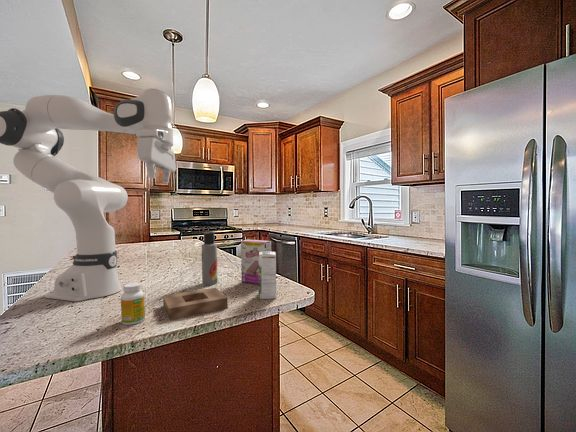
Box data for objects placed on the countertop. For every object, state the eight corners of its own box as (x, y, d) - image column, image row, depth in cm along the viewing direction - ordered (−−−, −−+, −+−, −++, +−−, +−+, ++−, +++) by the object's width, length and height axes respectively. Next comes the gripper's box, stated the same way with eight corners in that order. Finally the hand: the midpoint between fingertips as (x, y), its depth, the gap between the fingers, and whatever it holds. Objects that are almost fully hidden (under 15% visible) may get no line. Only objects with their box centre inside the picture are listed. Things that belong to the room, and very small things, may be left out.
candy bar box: (240, 282, 109) (240, 240, 109) (247, 279, 114) (247, 239, 113) (266, 285, 105) (265, 242, 104) (272, 282, 109) (271, 240, 109)
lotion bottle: (220, 282, 110) (219, 231, 109) (209, 286, 105) (208, 232, 104) (210, 280, 113) (209, 230, 112) (199, 283, 108) (197, 232, 107)
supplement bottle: (134, 326, 71) (133, 288, 70) (116, 324, 72) (115, 287, 72) (149, 317, 76) (148, 282, 76) (132, 316, 77) (131, 281, 77)
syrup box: (258, 293, 95) (258, 251, 95) (276, 293, 96) (275, 251, 95) (258, 299, 90) (257, 254, 89) (276, 298, 90) (276, 254, 90)
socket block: (169, 319, 75) (168, 308, 74) (163, 305, 85) (163, 296, 85) (227, 307, 83) (227, 297, 83) (215, 296, 93) (215, 287, 93)
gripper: (162, 148, 104) (163, 185, 103) (132, 128, 83) (133, 175, 83) (180, 148, 104) (180, 185, 103) (154, 128, 83) (154, 174, 83)
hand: (159, 180), depth 93 cm, fingers open, 8 cm apart
